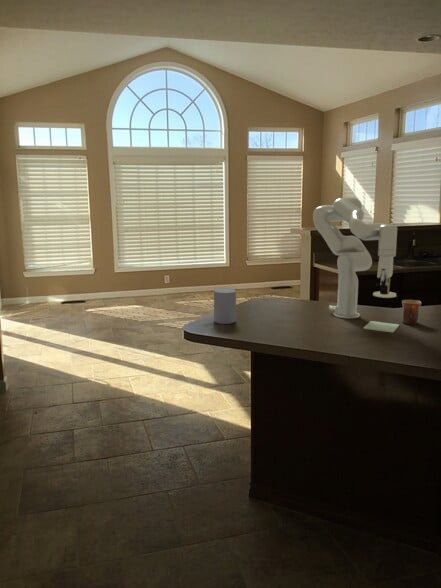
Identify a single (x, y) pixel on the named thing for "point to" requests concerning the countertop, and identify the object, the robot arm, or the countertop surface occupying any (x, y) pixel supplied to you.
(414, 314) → the mug
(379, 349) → the countertop surface
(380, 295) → the lid
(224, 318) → the container
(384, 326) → the mat
